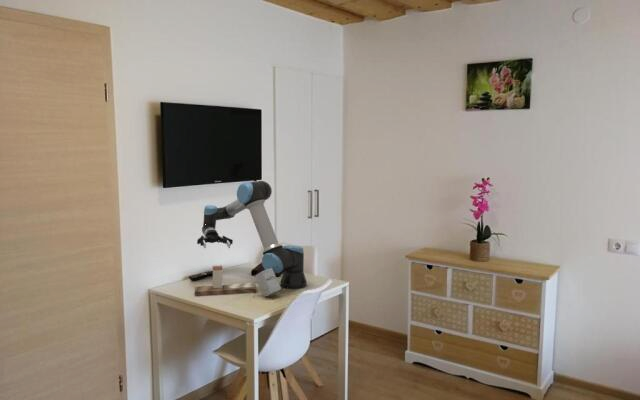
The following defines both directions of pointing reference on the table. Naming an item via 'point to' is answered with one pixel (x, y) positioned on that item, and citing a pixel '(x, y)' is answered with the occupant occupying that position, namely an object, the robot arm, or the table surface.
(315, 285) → the table surface
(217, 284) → the stub
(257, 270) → the diary
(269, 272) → the supplement box
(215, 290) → the board
